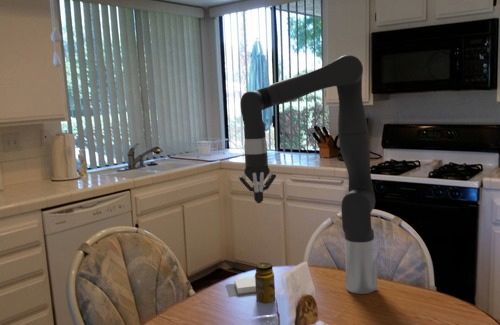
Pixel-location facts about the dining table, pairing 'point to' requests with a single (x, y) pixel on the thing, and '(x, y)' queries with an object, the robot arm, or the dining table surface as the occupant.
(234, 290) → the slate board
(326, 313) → the dining table surface
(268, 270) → the condiment
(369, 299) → the dining table surface
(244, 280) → the tile
